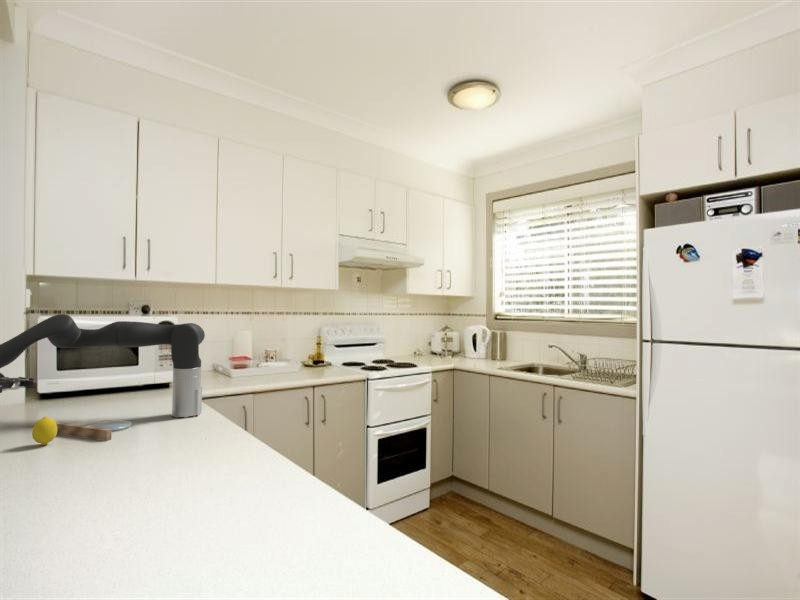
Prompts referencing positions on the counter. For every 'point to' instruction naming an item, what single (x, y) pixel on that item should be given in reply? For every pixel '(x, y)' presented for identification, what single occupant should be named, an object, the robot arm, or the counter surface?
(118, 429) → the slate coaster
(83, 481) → the counter surface
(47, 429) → the lemon
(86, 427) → the walnut wall
